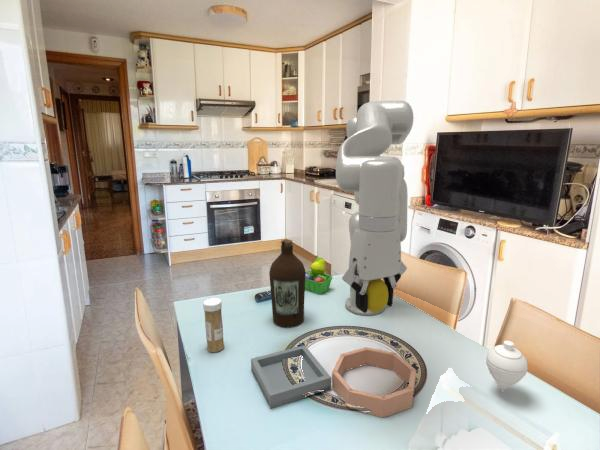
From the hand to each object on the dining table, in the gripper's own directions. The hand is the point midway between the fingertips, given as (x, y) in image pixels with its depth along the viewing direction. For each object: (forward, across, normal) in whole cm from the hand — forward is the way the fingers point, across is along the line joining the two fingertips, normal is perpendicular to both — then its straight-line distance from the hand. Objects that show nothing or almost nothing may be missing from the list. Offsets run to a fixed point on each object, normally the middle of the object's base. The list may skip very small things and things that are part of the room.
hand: (374, 305), depth 76 cm
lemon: (+2, 0, 0) cm, 2 cm away
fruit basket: (+20, -13, -53) cm, 58 cm away
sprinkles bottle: (+19, +28, -30) cm, 45 cm away
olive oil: (+20, +5, -36) cm, 41 cm away
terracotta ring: (+19, 0, 0) cm, 19 cm away
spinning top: (+19, -24, +14) cm, 34 cm away
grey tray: (+19, +16, -10) cm, 27 cm away
